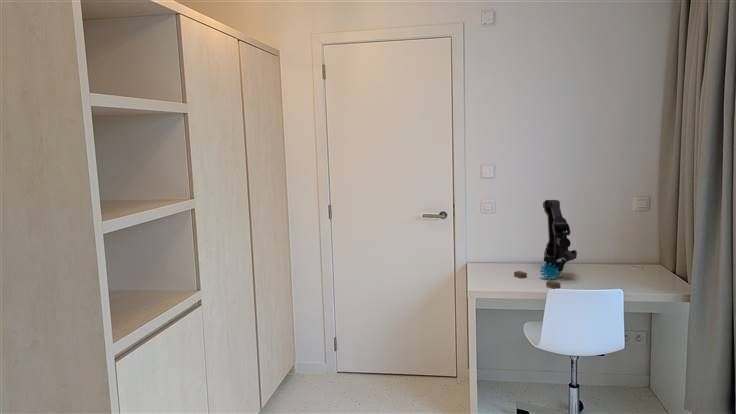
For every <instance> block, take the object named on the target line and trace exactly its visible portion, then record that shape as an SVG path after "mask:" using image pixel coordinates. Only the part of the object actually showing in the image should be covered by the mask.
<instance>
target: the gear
mask: <svg viewBox="0 0 736 414" xmlns="http://www.w3.org/2000/svg"><path fill="white" fill-rule="evenodd" d="M550 266H551V263H549V266H548V267H547V264H546V263H544V265H542V266H540V269H539V270H540V272H539V273H541V274H540V275H541V276H544V280H545V279H547V278H548V281H556V280H557V279H558V278H559V276H560V275H561V274H562V273H563V270H562V271H560V272H559V271H558V270H559V268H553V267H556V265H553V266H552V267H550ZM544 267H546V268H544ZM556 278H557V279H556Z"/></svg>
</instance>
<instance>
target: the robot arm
mask: <svg viewBox="0 0 736 414" xmlns="http://www.w3.org/2000/svg"><path fill="white" fill-rule="evenodd" d="M542 208H543V209H544V213H545V214H546V216H547V229H548V230H547V231H548V233H547V236H548V241H547V243H546V245H545V249H544V252H543V262H545V264H547V267H548V266H549V263H551V266H550V267H552V266H553V265H556V267H553V268H559V270H558V271H559V272H560V271H562V272H563V270H564V266H565V264H566V263H567V262H570V261H574V260H575V259H577V255H578V251H577V250H575V249H573V250H569V248H570V246H571V240H570V239H569V238H568V236H570V235H571V228H570V225H569V223H568V222H567V219H566V218H565V217H563V213H562V210H561V202H560V200H557V199H544V201H543V202H542ZM544 268H546V267H545V266H544Z"/></svg>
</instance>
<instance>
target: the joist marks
mask: <svg viewBox="0 0 736 414" xmlns="http://www.w3.org/2000/svg"><path fill="white" fill-rule="evenodd" d="M513 277H516V278H518V279H526V278H528V273H527V272H525V271H522V270H516V271H513ZM545 284H546V287H547V288H551V289H553V288H557V289H560V288H561V282H558V281H556V280H547V281H546V283H545Z"/></svg>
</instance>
